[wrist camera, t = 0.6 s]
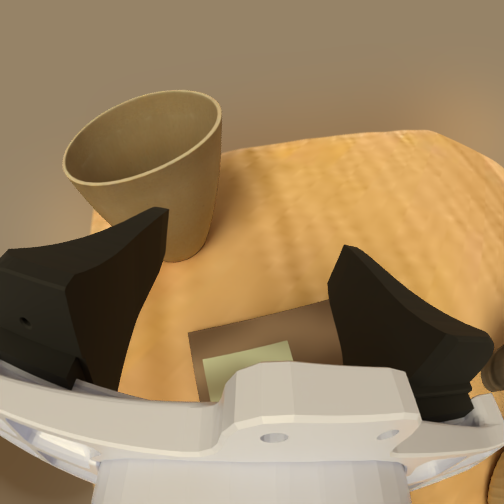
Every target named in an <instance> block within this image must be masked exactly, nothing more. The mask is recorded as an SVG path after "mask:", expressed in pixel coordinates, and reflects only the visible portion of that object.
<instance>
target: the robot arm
mask: <svg viewBox="0 0 504 504" xmlns="http://www.w3.org/2000/svg"><path fill="white" fill-rule="evenodd" d="M168 219H169V209H167V208H161V207H152V208H149V209H147V210H145V211H143V212H141V213H139V214H137V215H135V216H133V217H131V218H129V219H127V220H125V221H123V222H121V223H119V224H117V225H114V226H112V227H110V228H108V229H105V230H103V231H100V232H98V233H95V234H92V235H89V236H86V237H83V238H79V239H75V240H71V241H67V242H63V243H59V244H53V245H48V246H41V247H32V248H18V249H8V250H7V251H6V252H5V253H4V255H2V257H1V258H0V436H2V437H3V438H5V439H7V440H8V441H10V442H11V443H14V444H15V445H16V446H18V447H20V448H21V449H23V450H25V451H27V452H28V453H30V454H32V455H34V456H36V457H38V458H39V459H41V460H43V461H45V462H47V463H49V464H51V465H53V466H55V467H57V468H59V469H61V470H63V471H65V472H67V473H70V474H72V475H74V476H76V477H79V478H81V479H84V480H86V481H88V482H91V483H93V484H95V488H94V492H93V497H92V502H91V504H412V502H411V497H410V492H411V491H414V490H417V489H420V488H422V487H425V486H428V485H431V484H434V483H436V482H439V481H442V480H444V479H447V478H449V477H452V476H454V475H457V474H459V473H462V472H464V471H467V470H469V469H471V468H472V467H474V466H475V465H477V464H479V463H480V462H482V461H483V460H485V459H486V458H488V457H489V456H491V455H492V454H493V453H495V452H496V451H498V450H499V449H500V448H502V447H503V446H504V420H503V417H502V415H501V412H500V410H499V408H498V406H497V403H496V401H495V399H494V397H493V395H492V393H488V394H483V395H478V396H475V397H473V398H472V399H470V397H469V394H468V393H469V392H470V391H472V387H471V385H470V381H471V380H472V379H473V378H474V377H475V376H476V375H477V374H478V373H479V372H480V371H481V369H482V368H483V367H484V366H485V365H486V364H487V362H488V361H489V360H490V358H491V356H492V354H493V350H494V343H493V341H492V339H491V338H490V336H489V335H488V334H487V333H486V332H485V331H482V330H480V329H477V328H475V327H472V326H470V325H467V324H465V323H463V322H461V321H459V320H457V319H455V318H453V317H451V316H449V315H447V314H445V313H443V312H442V311H440V310H438V309H437V308H435V307H433V306H432V305H430V304H428V303H427V302H425V301H424V300H422V299H421V298H420V297H418V296H417V295H415V294H414V293H413V292H411V291H410V290H409V289H407V288H406V287H405V286H404V285H402V284H401V283H400V282H399V281H397V280H396V279H395V278H394V277H393V276H392V275H390V274H389V273H388V272H387V271H386V270H385V269H383V268H382V267H381V266H380V265H379V264H378V263H377V262H375V261H374V260H373V259H372V258H371V257H370V256H368V255H367V254H366V253H364V252H363V251H362V250H360V249H359V248H357V247H353V246H348V245H344V246H343V248H342V251H341V253H340V256H339V258H338V260H337V263H336V265H335V267H334V270H333V272H332V274H331V276H330V279H329V281H328V283H327V284H328V295H329V303H330V307H331V311H332V315H333V319H334V322H335V326H336V330H337V334H338V338H339V342H340V346H341V351H342V358H343V365H332V364H319V363H308V362H298V361H288V360H287V361H262V362H260V363H257V364H254V365H251V366H248V367H246V368H243V369H240V370H238V371H236V373H235V374H234V375H233V376H232V377H231V378H230V379H229V380H228V382H227V383H226V384H225V387H224V390H223V394H222V397H221V399H220V400H219V402H180V401H157V400H147V399H143V398H139V397H135V396H131V395H128V394H124V393H120V392H118V386H119V382H120V377H121V373H122V369H123V365H124V361H125V357H126V353H127V350H128V346H129V342H130V339H131V336H132V333H133V329H134V326H135V323H136V320H137V318H138V315H139V313H140V311H141V308H142V306H143V304H144V302H145V300H146V298H147V296H148V294H149V292H150V290H151V288H152V286H153V284H154V282H155V280H156V277H157V275H158V273H159V271H160V268H161V265H162V262H163V259H164V256H165V253H166V241H167V229H168Z"/></svg>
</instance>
